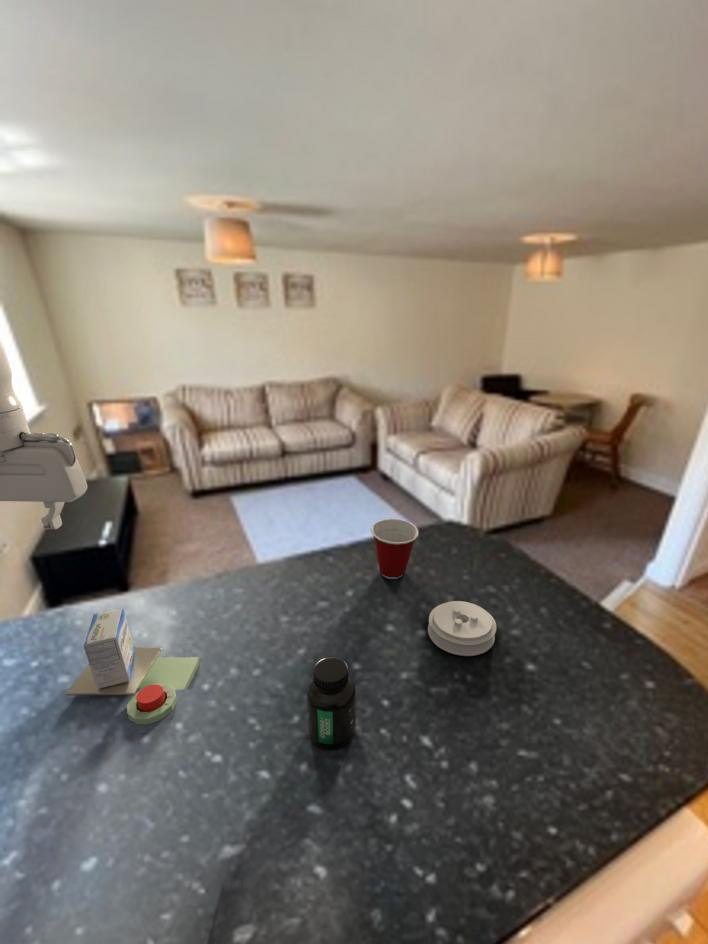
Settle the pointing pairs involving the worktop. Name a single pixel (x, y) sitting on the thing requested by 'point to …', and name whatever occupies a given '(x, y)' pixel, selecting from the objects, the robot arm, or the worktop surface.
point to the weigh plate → (139, 670)
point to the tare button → (150, 698)
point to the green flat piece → (164, 686)
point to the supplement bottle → (331, 704)
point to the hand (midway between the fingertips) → (20, 527)
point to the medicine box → (109, 648)
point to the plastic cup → (393, 545)
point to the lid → (462, 628)
